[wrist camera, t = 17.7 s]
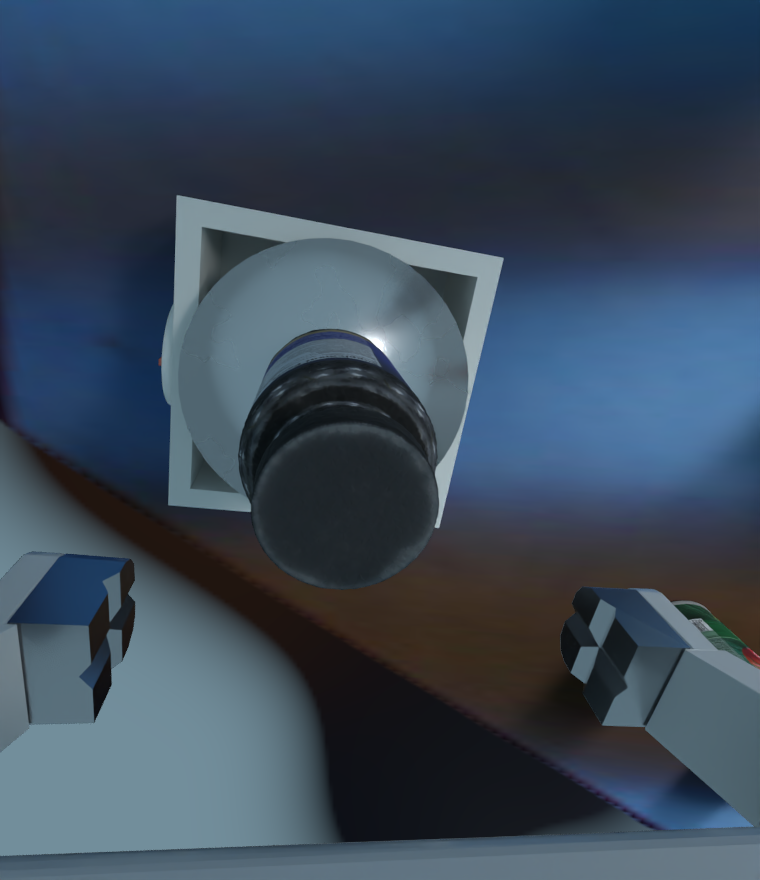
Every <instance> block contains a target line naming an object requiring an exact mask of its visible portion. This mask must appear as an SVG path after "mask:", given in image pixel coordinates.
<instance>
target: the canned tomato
mask: <svg viewBox="0 0 760 880" xmlns="http://www.w3.org/2000/svg"><path fill="white" fill-rule="evenodd" d="M671 603H672V604H673V605H674V606H675V607H676V608H677V609H678V610H679V611H680V612H681V613H682V614H683V615H684V616H685V617H686V618H687V619H688V620H689V621H690V622H691V623H692V624H693V625H694V626H695V627H696V628H697V629H698V630H699V631H700V632H701V633H702V634H703V635H704V636H705V638H706V639H707V640H708V641H709V642H710V643H711V644H712V645H713V646H714V647H715V648H716V649H717V650H723V651H727V652H729V653H731V654H732V655H734V656H736V657H738V658H740V659H741V660H743V661H745V662H747V663H748V664H750V665H752V666H754V667H756V668H757V669H759V670H760V657H759V656H758V655H757V654H756V653H754V652H753V651H752V650H751V649H750V648H749V647H748V646H747V645H745V644H744V643H743V642H742V641H741V640H740V639H739V638H738V637H737V636H735V635H734V634H733V633H732V632H731V631H730V630H729V629H728V628H726V627H725V625H724V624H723V623H722V622H720V621H719V620H718V619H717V618H715V617H714V616H713V615H712V614H711V613H710V612H709V610H708V609H707V608H706V607H704V606H702V605H701V604H699V603H696V602H693V601H674V602H671Z"/></svg>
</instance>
